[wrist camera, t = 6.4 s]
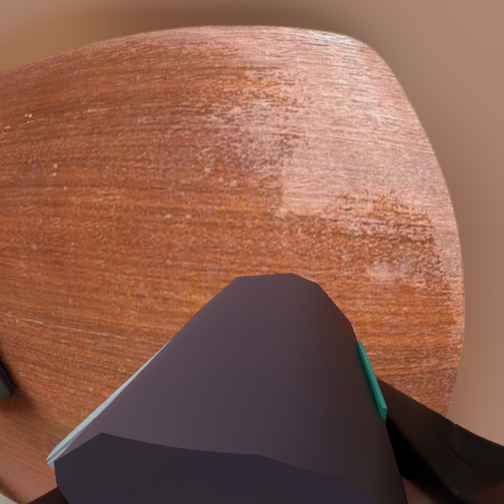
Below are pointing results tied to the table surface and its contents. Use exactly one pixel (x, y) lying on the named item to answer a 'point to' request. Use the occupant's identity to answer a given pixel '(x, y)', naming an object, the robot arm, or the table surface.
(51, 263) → the table surface
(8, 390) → the game console
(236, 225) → the table surface
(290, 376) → the speaker
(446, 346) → the table surface
